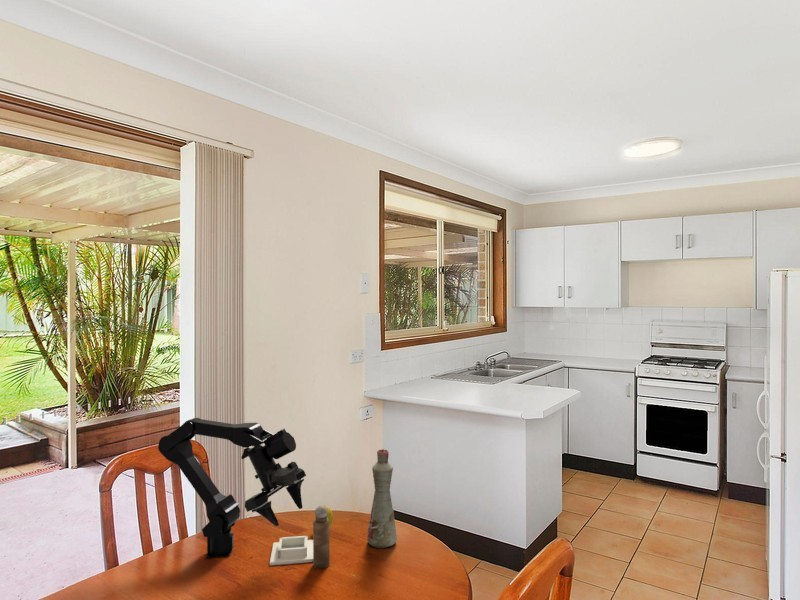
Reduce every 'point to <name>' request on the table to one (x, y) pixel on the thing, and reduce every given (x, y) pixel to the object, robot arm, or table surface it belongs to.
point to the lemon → (329, 516)
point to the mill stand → (292, 550)
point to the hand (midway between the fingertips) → (289, 517)
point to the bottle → (382, 505)
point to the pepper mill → (321, 539)
